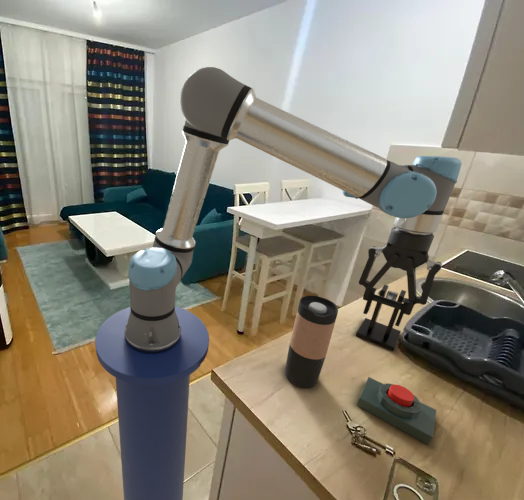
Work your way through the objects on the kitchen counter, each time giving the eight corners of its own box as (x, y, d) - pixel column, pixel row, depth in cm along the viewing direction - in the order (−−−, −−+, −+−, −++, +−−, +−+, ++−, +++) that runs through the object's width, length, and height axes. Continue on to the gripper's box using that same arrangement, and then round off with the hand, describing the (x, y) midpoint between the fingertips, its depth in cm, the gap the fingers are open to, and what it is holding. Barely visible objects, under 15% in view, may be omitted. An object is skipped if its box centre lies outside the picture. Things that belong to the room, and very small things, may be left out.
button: (385, 398, 59) (388, 392, 58) (389, 387, 62) (392, 381, 61) (410, 411, 56) (413, 404, 56) (412, 398, 59) (415, 392, 58)
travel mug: (299, 360, 73) (316, 292, 66) (325, 382, 67) (347, 310, 59) (276, 369, 70) (291, 299, 63) (301, 394, 64) (321, 318, 56)
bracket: (393, 351, 77) (411, 304, 72) (355, 335, 83) (370, 290, 78) (399, 334, 84) (416, 290, 78) (364, 320, 90) (378, 278, 84)
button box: (356, 405, 62) (361, 391, 60) (365, 383, 67) (370, 370, 65) (428, 445, 54) (436, 430, 52) (432, 417, 59) (439, 403, 58)
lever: (400, 312, 68) (403, 302, 68) (370, 302, 72) (374, 293, 72) (403, 303, 78) (407, 295, 78) (378, 295, 82) (380, 287, 81)
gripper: (472, 237, 60) (431, 328, 69) (368, 217, 72) (344, 297, 81) (472, 245, 55) (428, 343, 64) (360, 223, 67) (335, 307, 76)
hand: (381, 317), depth 72 cm, fingers closed on lever, 6 cm apart
